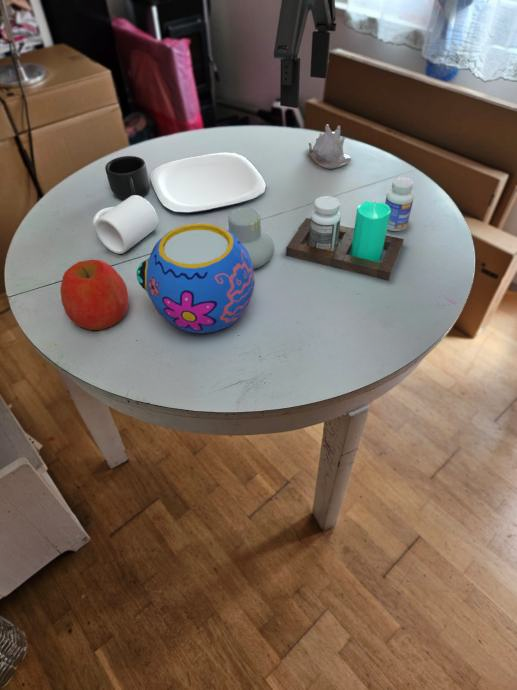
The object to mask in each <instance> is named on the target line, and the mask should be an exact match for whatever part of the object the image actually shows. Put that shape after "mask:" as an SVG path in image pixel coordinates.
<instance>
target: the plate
mask: <svg viewBox="0 0 517 690" xmlns="http://www.w3.org/2000/svg"><path fill="white" fill-rule="evenodd" d="M149 176H150V181H151V182H150V183H151V186H152V188H153V190H154V192H155V195H156V197H157V199H158V201H159V202H160V203H161V204H162V206H163V207H164V208H166V209H167V210H169V211H171V212H174V213H183V214H190V213H191V214H192V213H199V212H205V211H206V212H207V211H211V210H216V209H221V208H225V207H229V206H230V207H231V206H234V205H238V204H242V203H245V202H249V201H252V200H255V199H257V198H258V197H260V196H262V195H263V194H265V192H266V188H267V184H266V182H265V180H264V178H263V176H262V175H261V174H260V172H259V171H258V169H257V168H256V167H255V166H254V164H252V162H251V161H250V160H248V159H247V158H246V157H245V156H243V155H240V154H237V153H235V152H217V153H215V152H214V153H208V154H202V155H197V156H191V157H187V158H186V157H185V158H181V159H177V160H173V161H169V162H165V163H163V164H161V165H159V166H157V167H155V168H153V169H152V172H151V173H150V175H149Z"/></svg>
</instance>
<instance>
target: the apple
mask: <svg viewBox="0 0 517 690" xmlns="http://www.w3.org/2000/svg"><path fill="white" fill-rule="evenodd" d="M61 280H62V281H61V284H60V299H61V304H62V307H63V309H64V311H65V314H66V316H67V317H68V318H69V320H71V322H73V323H74V325H75V324H76V325H77V326H78V327H81V328H83V329H86V330H89V331H99V330H100V331H102V330H105V329H108V328H111V327H112V326H114V325H116V324H118V323H119V322H120V321H121V320H122V319H123V318H124V317H125V316H126V315H127V312H128V308H129V293H128V288H127V285H126V283H125V281H124V279H123V278H122V276H121V275H120V273H118V272H117V271H116V269H115V268H114V267H113V266H111V264H109V263H107V262H105V261H103V260H101V259H94V258H93V259H87V260H82V261H78V262H76V263H74V264H73V265H71V266H70V267H69V268H68V269H66V270H65V271H64V274H63V275H62V279H61Z"/></svg>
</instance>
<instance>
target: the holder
mask: <svg viewBox="0 0 517 690" xmlns="http://www.w3.org/2000/svg"><path fill="white" fill-rule="evenodd" d="M310 219H311V217H310V218H309V217H305V219H304V221H302V223H301V225H300V226H299V227H298V229H297V230H296V232H295V234H294V235H293V237H292V238H291V240H290V241H289V242H288V244H287V246H286V250H285V256H287V257H291V258H295V259H298V260H304V261H306V262H311V263H315V264H319V265H324V266H327V267H332V268H335V269H339V270H343V271H348V272H352V273H355V274H359V275H360V274H361V275H363V276H364V275H365V276H368V277H373V278H375V279H380V280H384V281H390V279H391V276H392V274H393V271H394V269H395V267H396V264H397V262H398V258H399V256H400V254H401V251H402V249H403V245H404V241H405V238H401V237H396V236H392V235H387V234H386V237H385V242H384V246H383V250H384V251H386V252H385V255H384V257H383V259H382V261H381V262H380V261H379V262H376V261H371V260H367V259H363V258H359V257H354V256H351V255H350V253H351V247H352V240H353V233H354V227H352V226H351V227H350V226H347V225H342V224H340V228H339V236H338V241H339V240H340V242H339V243H338V244H337V247H336V249H335V250H334V251H329V250H325V249H321V248H317V247H312V246H309V244H306V243H307V242H308V241H309V236H310Z"/></svg>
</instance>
